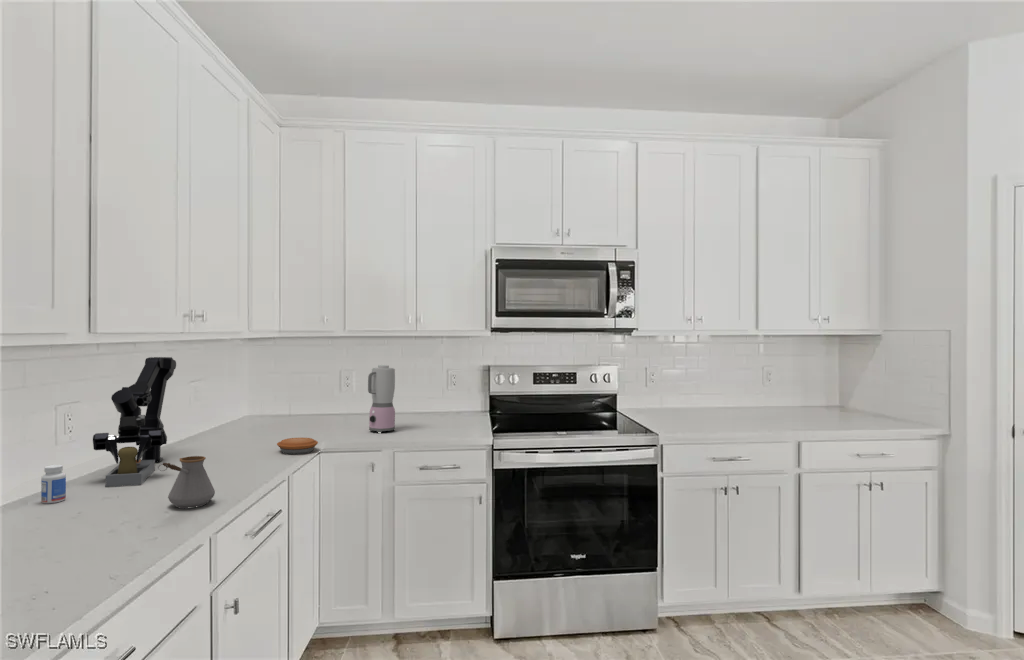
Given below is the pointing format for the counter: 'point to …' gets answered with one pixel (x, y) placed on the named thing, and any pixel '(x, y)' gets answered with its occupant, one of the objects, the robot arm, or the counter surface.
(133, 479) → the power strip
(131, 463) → the cork
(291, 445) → the pie
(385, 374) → the blender
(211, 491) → the coffee pot
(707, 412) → the counter surface
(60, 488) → the pill bottle
